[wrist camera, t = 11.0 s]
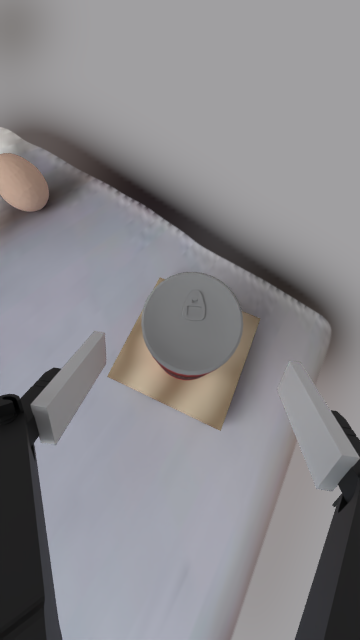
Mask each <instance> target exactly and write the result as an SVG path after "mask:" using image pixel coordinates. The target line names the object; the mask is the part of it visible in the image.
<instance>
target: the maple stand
mask: <svg viewBox="0 0 360 640" xmlns="http://www.w3.org/2000/svg"><path fill="white" fill-rule="evenodd" d="M164 280H165V279H162V278H159V280H158V282H157V284H156V286H158V285H159V284H160V283H161V282H162V281H164ZM156 286H155V287H156ZM155 287H154V288H155ZM153 290H154V289H153ZM142 312H143V310H142ZM142 312H141V314H140V316H139V318H138V319H137V321H136V323H135V325H134V327H133V329H132V331H131V333H130V335H129V336H128V338H127V340H126V342H125V344H124V346H123V348H122V350H121V352H120V353H119V355H118V357H117V359H116V361H115V363H114V365H113V367H112V368H111V370H110V372H109V374H108V376H107V377H109V378H111V379H114V380H116V381H118V382H120V383H122V384H124V385H126V386H128V387H130V388H132V389H134V390H136V391H139V392H141V393H143V394H145V395H147V396H149V397H151V398H153V399H155V400H157V401H159V402H161V403H164V404H166V405H168V406H170V407H172V408H174V409H176V410H178V411H180V412H182V413H184V414H186V415H189V416H191V417H193V418H195V419H197V420H199V421H201V422H203V423H205V424H207V425H209V426H211V427H214V428H216V429H218V430H220V431H221V428H222V425H223V423H224V420H225V417H226V414H227V411H228V408H229V406H230V403H231V400H232V397H233V394H234V391H235V389H236V386H237V383H238V380H239V377H240V375H241V372H242V369H243V366H244V363H245V360H246V358H247V355H248V352H249V349H250V346H251V343H252V341H253V338H254V335H255V332H256V329H257V326H258V324H259V321H260V318H257V317H255V316H253V315H250V314H248V313H245V312H243V311H242V315H243V331H242V336H241V339H240V342H239V345H238V347H237V348H236V350H235V352H234V353H233V355H232V356H231V357H230V358H229V360H228V361H227V362H226V363H225V364H223V365H222V366H221V367H219V368H218V369H216V370H215V371H213V372H211V373H209V374H207V375H205V376H202V377H200V378H198V379H195V380H180V379H176V378H174V377H172V376H170V375H169V374H167V373H166V372H165V371H164V370H163V369H162V368H161V366H160V365H159V364H158V363H157V362H156V360H155V359H154V358H153V356H152V355H151V353H150V351H149V350H148V348H147V346H146V344H145V341H144V338H143V333H142V326H141V321H142Z"/></svg>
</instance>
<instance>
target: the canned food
mask: <svg viewBox="0 0 360 640" xmlns="http://www.w3.org/2000/svg"><path fill="white" fill-rule="evenodd" d="M141 326H142V333H143V338H144V341H145V344H146V346H147V348H148V350H149V351H150V353H151V355H152V356H153V358H154V359H155V360H156V362H157V363H158V364H159V365H160V366H161V368H162V369H163V370H164V371H165V372H166V373H167V374H169V375H170V376H172V377H174V378H176V379H180V380H195V379H198V378H200V377H202V376H205V375H207V374H209V373H211V372H213V371H215V370H216V369H218V368H219V367H221V366H222V365H223V364H225V363H226V362H227V361H228V360H229V358H230V357H231V356H232V355H233V353H234V352H235V350H236V348H237V347H238V345H239V342H240V339H241V336H242V331H243V315H242V311H241V308H240V304H239V302H238V300H237V298H236V296H235V295H234V294H233V292H232V291H231V290H230V289H229V288H228V287H227V286H226V285H225V284H224V283H223V282H221V281H220V280H218V279H216V278H215V277H213V276H210V275H207V274H204V273H198V272H185V273H180V274H176V275H174V276H171V277H169V278H167V279H165V280H164V281H162V282H161V283H160V284H159V285H158V286H156V287H155V288H154V290H153V291H152V292H151V294H150V295H149V296H148V298H147V300H146V303H145V305H144V308H143V312H142V321H141Z"/></svg>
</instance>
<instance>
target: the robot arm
mask: <svg viewBox="0 0 360 640" xmlns="http://www.w3.org/2000/svg"><path fill="white" fill-rule="evenodd" d="M105 365H106V347H105V333H103V332H97V331H94V332H93V333H92V334H91V336H90V337H89V338H88V339H87V340H86V341H85V342H84V344H83V345H82V346H81V347H80V348H79V349H78V351H77V352H76V353H75V354H74V355H73V356H72V357H71V359H70V360H69V361H68V362H67V363H66V364H65V365H64V367H63V368H62V369H59V368H52V369H51V370H49V371H47V372H45V373H44V374H43V375H42V376H41V377H40V379H39V380H38V381H37V382H36V383H35V384H34V386H32V387H31V388H30V389H29V390H28V391H27V392H26V393H25V394H24V395H23V396H22V398H21V399H20V398H19V396H17V395H15V394H7V395H2V396H0V640H62V635H61V630H60V626H59V620H58V614H57V606H56V599H55V592H54V584H53V577H52V570H51V562H50V555H49V548H48V540H47V533H46V526H45V518H44V511H43V504H42V497H41V489H40V482H39V475H38V467H37V460H36V453H35V446H34V442H35V441H36V439H37V438H38V436H39V438H40V441H41V443H45V444H51V445H56V444H57V442H58V441H59V439H60V437H61V436H62V434H63V433H64V431H65V429H66V428H67V426H68V424H69V423H70V421H71V420H72V418H73V416H74V415H75V413H76V412H77V410H78V408H79V407H80V405H81V403H82V402H83V400H84V399H85V397H86V395H87V394H88V392H89V390H90V389H91V387H92V386H93V384H94V382H95V381H96V379H97V378H98V376H99V374H100V373H101V371H102V369H103V368H104V366H105ZM277 391H278V393H279V396H280V398H281V401H282V403H283V406H284V408H285V411H286V413H287V416H288V419H289V421H290V424H291V426H292V429H293V431H294V434H295V436H296V439H297V441H298V444H299V446H300V448H301V451H302V453H303V456H304V459H305V461H306V463H307V466H308V469H309V471H310V473H311V476H312V478H313V481H314V484H315V486H316V489H321V490H327V491H333V490H334V489H335V488H336V487H337V485H339V487H340V490H341V492H342V494H341V495H340V496H339V498H338V499H337V500H336V501H335V502H334V503H333V506H334V507H335V506H336V505H337V506H336V509H335V512H334V515H333V519H332V522H331V525H330V528H329V532H328V535H327V538H326V541H325V544H324V547H323V551H322V554H321V557H320V560H319V564H318V567H317V570H316V573H315V577H314V580H313V583H312V586H311V589H310V592H309V596H308V599H307V602H306V605H305V609H304V612H303V615H302V618H301V621H300V625H299V628H298V632H297V634H296V638H295V640H360V440H359V439H358V437H356V434H355V433H354V431H353V430H352V429H351V427H350V426H349V424H348V422H347V421H346V419H344V417H342V416H341V415H340V414H339V413H338V412H337V411H332V410H330V409H329V407H328V406H327V404H326V402H325V401H324V399H323V398H322V396H321V394H320V393H319V391H318V389H317V388H316V386H315V385H314V383H313V381H312V380H311V378H310V377H309V375H308V373H307V372H306V370H305V368H304V367H303V365H302V364H301V362H296V361H290V360H289V363H288V365H287V367H286V370H285V372H284V374H283V377H282V379H281V381H280V384H279V386H278V388H277Z"/></svg>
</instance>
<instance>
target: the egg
mask: <svg viewBox="0 0 360 640" xmlns="http://www.w3.org/2000/svg"><path fill="white" fill-rule="evenodd" d="M0 195H1V196H2V198H3V199H4V200H5V201H6V202H7V203H9V204H10V205H12V206H13V207H15V208H17V209H20V210H23V211H28V212H32V211H38V210H40V209H42V208H43V207H44V206H45V205H46V203H47V201H48V198H49V189H48V185H47V182H46V180H45V178H44V177H43V175H42V174H41V172H40V171H39V170H38V169H37V168H36V167H35V166H34V165H33V164H31V163H30V162H29V161H27V160H26V159H24V158H22V157H20V156H18V155H15V154H11V153H3V154H0Z"/></svg>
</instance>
